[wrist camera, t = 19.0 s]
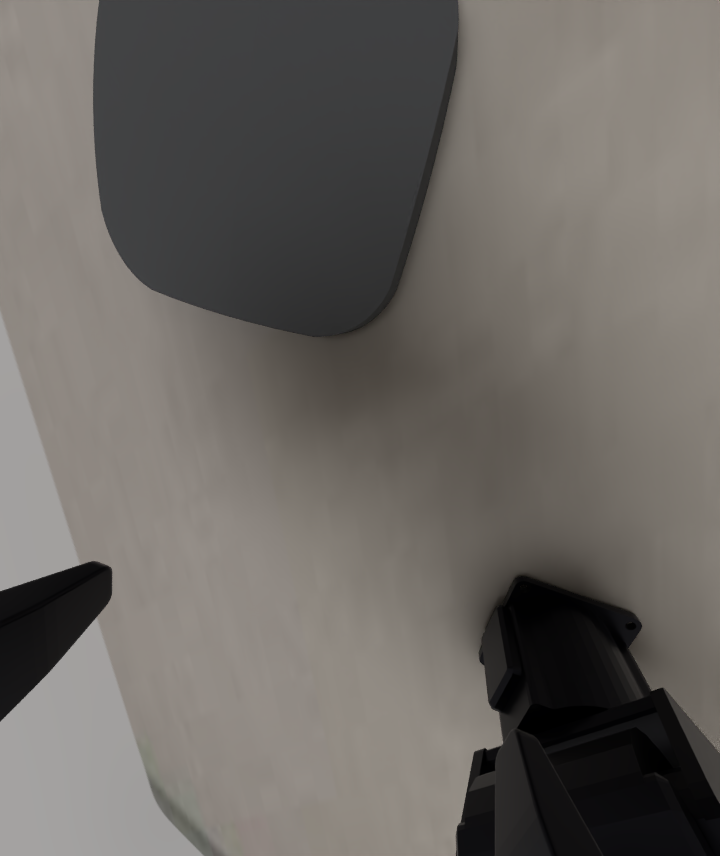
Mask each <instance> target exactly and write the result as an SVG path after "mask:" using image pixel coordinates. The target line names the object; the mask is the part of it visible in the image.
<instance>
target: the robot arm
mask: <svg viewBox="0 0 720 856" xmlns="http://www.w3.org/2000/svg"><path fill="white" fill-rule="evenodd" d="M522 585H527V587H525V588H521V587H520V586H522ZM111 595H112V569H111V567H109V566H107V565H105V564H102V563H100V562H96V561H92V562H88V563H85V564H82V565H79V566H76V567H73V568H70V569H67V570H64V571H61V572H57V573H54V574H51V575H48V576H46V577H42V578H39V579H36V580H33V581H30V582H27V583H24V584H21V585H18V586H15V587H12V588H9V589H6V590H3V591H0V721H1V720H2V719H3V718H4V717H5V716H6V715H7V714H8V713H9V712H10V711H11V710H12V709H13V708H14V707H15V706H16V705H17V704H18V703H19V702H20V701H21V700H22V699H23V698H24V697H25V696H26V695H27V694H28V693H29V692H30V691H31V690H32V689H33V688H34V687H35V686H36V685H37V684H38V683H39V682H40V681H41V680H42V679H43V678H44V677H45V676H46V675H47V674H48V673H49V672H50V670H51V669H52V668H53V667H54V666H55V665H56V664H57V663H58V661H59V660H60V659H61V658H62V657H63V656H64V655H65V653H66V652H67V651H68V650H69V649H70V647H71V646H72V645H73V644H74V643H75V642H76V641H77V639H78V638H79V637H80V636H81V635H82V634H83V632H84V631H85V630H86V629H87V628H88V626H89V625H90V624H91V623H92V622H93V621H94V619H95V618H96V617H97V616H98V615H99V614H100V612H101V611H102V610H103V609H104V608H105V607H106V605H107V604H108V602H109V600H110V598H111ZM628 622H632V623H630V624H627V623H628ZM641 628H642V625H641V622H640V621H639V619H638V618H637V616H636V615H634V614H632V613H630V612H627V611H624V610H621V609H618V608H615V607H613V606H610V605H607V604H604V603H601V602H598V601H595V600H592V599H589V598H586V597H584V596H581V595H578V594H575V593H572V592H569V591H566V590H563V589H560V588H557V587H554V586H552V585H549V584H546V583H543V582H540V581H537V580H534V579H531V578H528V577H525V576H520V577H517V578H516V579H515V580H514V581H513V583H512V586H511V588H510V590H509V592H508V594H507V596H506V598H505V600H504V602H503V604H502V605H500V606H498V607H496V609H495V611H494V613H493V615H492V617H491V619H490V621H489V623H488V626H487V628H486V630H485V632H484V634H483V636H482V647H481V649H480V651H479V660H480V662H481V663H482V664H483V665H484V666H485V675H486V684H487V693H488V702H489V704H490V706H491V708H492V709H493V710H496V711H498V712H499V715H500V722H501V730H502V737H503V745H501V746H498V747H495V748H492V749H489V750H487V749H486V748H484V749H481V750H478V751H475V752H474V756H473V761H472V766H471V771H470V777H469V782H468V787H467V793H466V798H465V803H464V808H463V814H462V819H461V823H459V825H458V826H457V832H456V849H457V850H456V856H720V753H719V752H718V751H717V750H716V749H715V747H714V746H713V745H712V744H711V743H710V741H709V740H708V739H707V738H706V737H705V736H704V734H703V733H702V732H701V731H700V730H699V729H698V727H697V726H696V725H695V724H694V723H693V722H692V720H691V719H690V718H689V717H688V716H687V714H686V713H685V712H684V711H683V710H682V709H681V707H680V706H679V705H678V704H677V703H676V702H675V700H674V699H673V698H672V697H671V696H670V695H669V693H668V692H667V691H666V690H665V689H664V688H660V689H657V690H654V691H651V689H650V687H649V685H648V684H647V682H646V680H645V678H644V676H643V674H642V673H641V671H640V669H639V667H638V665H637V663H636V662H635V660H634V658H633V656H632V654H631V652H630V651H629V649H628V648H629V646H630V645H631V643H632V642H633V640H634V639H635V638H636V636H637V635H638V633H639V632H640V630H641Z"/></svg>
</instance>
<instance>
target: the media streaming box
mask: <svg viewBox="0 0 720 856" xmlns="http://www.w3.org/2000/svg"><path fill="white" fill-rule="evenodd" d="M457 42H458V0H99V7H98V16H97V26H96V39H95V54H94V79H93V113H94V140H95V155H96V168H97V177H98V186H99V195H100V202H101V209H102V213H103V217H104V221H105V224H106V227H107V229H108V232H109V234H110V237H111V239H112V241H113V244H114V246H115V247H116V249H117V251H118V253H119V255H120V256H121V258H122V260H123V261H124V262H125V264H126V265H127V267H128V268H129V269H130V270H131V272H132V273H133V274H134V275H135V276H136V277H137V278H138V279H139V280H140V281H141V282H142V283H143V284H145V285H146V286H147V287H149V288H150V289H152V290H154V291H157V292H159V293H162V294H164V295H167V296H169V297H172V298H175V299H177V300H180V301H183V302H186V303H189V304H191V305H194V306H197V307H200V308H203V309H206V310H210V311H213V312H216V313H219V314H223V315H226V316H229V317H233V318H237V319H240V320H244V321H247V322H251V323H255V324H259V325H263V326H267V327H271V328H276V329H280V330H284V331H289V332H293V333H298V334H303V335H308V336H313V337H322V336H331V335H336V334H341V333H346V332H350V331H353V330H355V329H358V328H360V327H362V326H364V325H365V324H367V323H368V322H370V321H371V320H373V319H374V318H375V317H376V316H377V315H378V314H379V313H380V312H381V311H382V310H383V309H384V308H385V307H386V306H387V304H388V303H389V302H390V300H391V299H392V297H393V295H394V293H395V291H396V289H397V286H398V283H399V280H400V277H401V274H402V271H403V268H404V265H405V262H406V259H407V256H408V252H409V249H410V246H411V243H412V240H413V236H414V233H415V229H416V226H417V223H418V219H419V216H420V212H421V209H422V205H423V202H424V198H425V194H426V191H427V187H428V183H429V180H430V176H431V172H432V168H433V164H434V161H435V157H436V153H437V149H438V145H439V141H440V136H441V132H442V128H443V124H444V120H445V115H446V111H447V107H448V102H449V98H450V93H451V89H452V84H453V80H454V75H455V70H456V62H457Z"/></svg>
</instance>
